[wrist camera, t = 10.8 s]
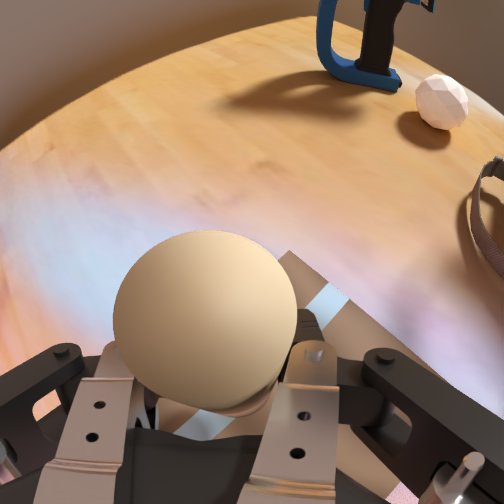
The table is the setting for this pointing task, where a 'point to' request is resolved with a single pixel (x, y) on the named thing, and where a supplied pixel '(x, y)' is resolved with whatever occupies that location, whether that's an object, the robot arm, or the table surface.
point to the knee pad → (482, 238)
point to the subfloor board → (334, 332)
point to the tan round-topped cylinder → (207, 321)
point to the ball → (441, 102)
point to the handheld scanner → (365, 43)
